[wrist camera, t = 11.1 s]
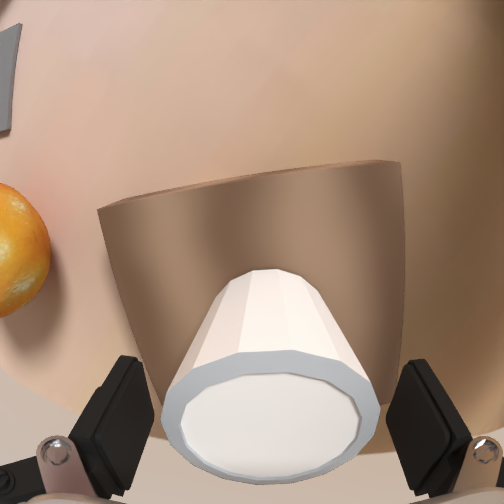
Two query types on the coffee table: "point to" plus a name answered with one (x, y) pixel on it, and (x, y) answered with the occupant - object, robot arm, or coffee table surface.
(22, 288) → the fruit
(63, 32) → the coffee table surface
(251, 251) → the walnut block
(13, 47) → the card
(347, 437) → the shot glass
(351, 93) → the coffee table surface
